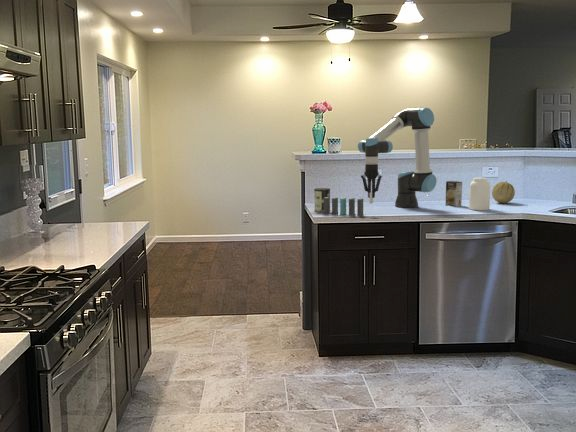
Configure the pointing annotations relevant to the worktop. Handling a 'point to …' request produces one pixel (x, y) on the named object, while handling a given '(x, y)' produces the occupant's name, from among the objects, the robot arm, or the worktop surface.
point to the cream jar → (479, 194)
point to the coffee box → (453, 193)
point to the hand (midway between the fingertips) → (371, 203)
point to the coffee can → (320, 198)
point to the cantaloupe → (503, 192)
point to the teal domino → (342, 206)
